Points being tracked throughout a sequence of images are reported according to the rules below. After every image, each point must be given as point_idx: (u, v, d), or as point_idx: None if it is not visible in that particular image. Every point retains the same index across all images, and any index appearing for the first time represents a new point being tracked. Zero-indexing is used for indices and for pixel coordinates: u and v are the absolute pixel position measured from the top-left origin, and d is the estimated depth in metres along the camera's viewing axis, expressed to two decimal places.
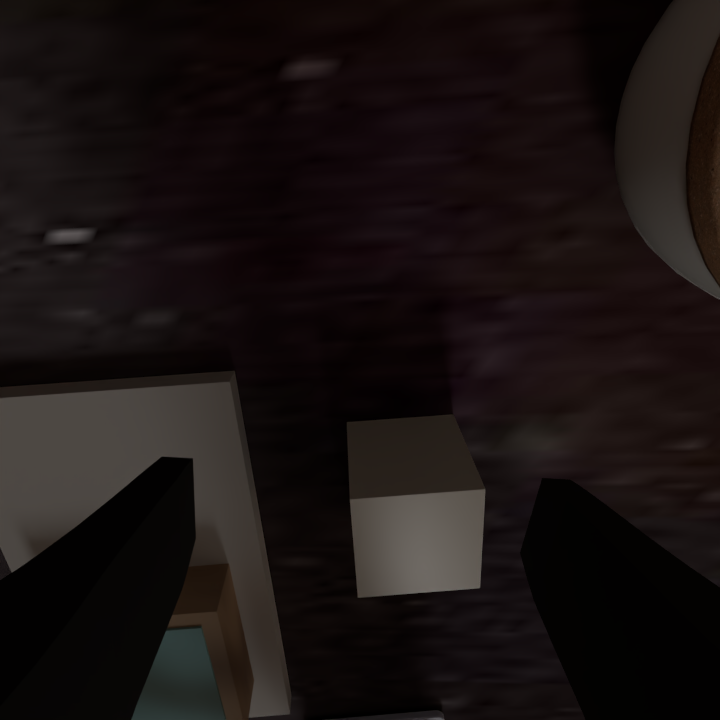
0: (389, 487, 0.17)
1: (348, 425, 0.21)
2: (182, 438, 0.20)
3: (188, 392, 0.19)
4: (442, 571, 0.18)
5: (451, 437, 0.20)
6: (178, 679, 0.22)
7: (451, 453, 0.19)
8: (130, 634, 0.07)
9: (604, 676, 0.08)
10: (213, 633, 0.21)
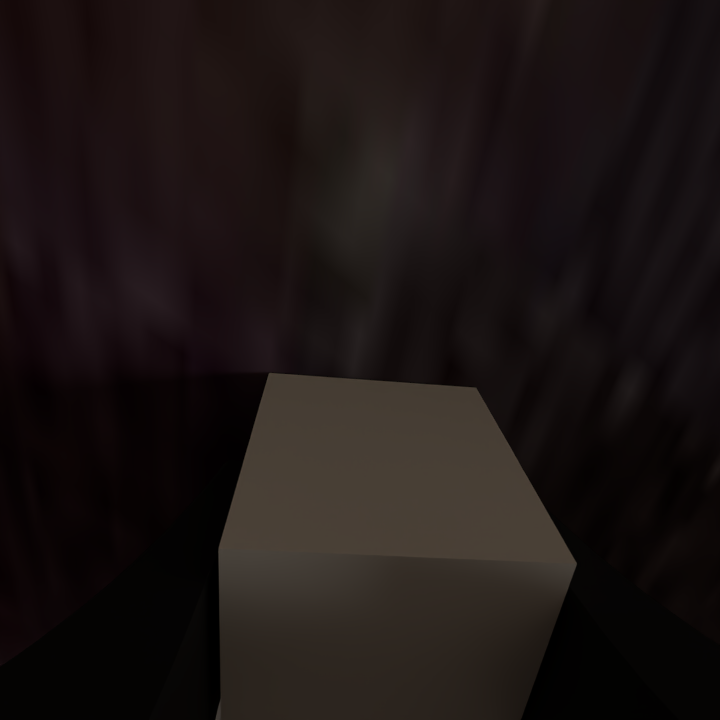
0: None
1: None
2: None
3: None
4: (482, 636, 0.07)
5: None
6: None
7: None
8: (218, 637, 0.07)
9: None
10: None
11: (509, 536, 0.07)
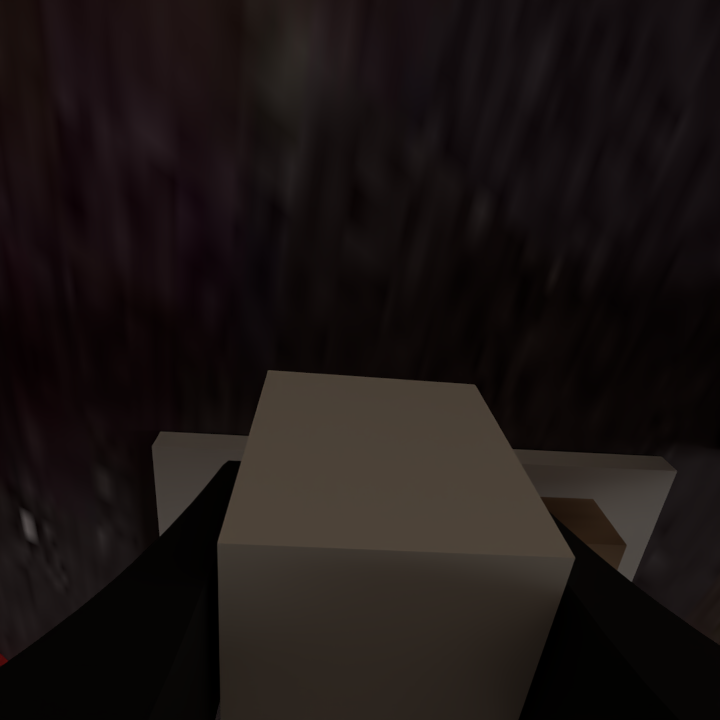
0: None
1: None
2: None
3: (163, 483, 0.19)
4: (481, 631, 0.07)
5: None
6: None
7: None
8: (217, 636, 0.07)
9: None
10: None
11: (508, 531, 0.07)
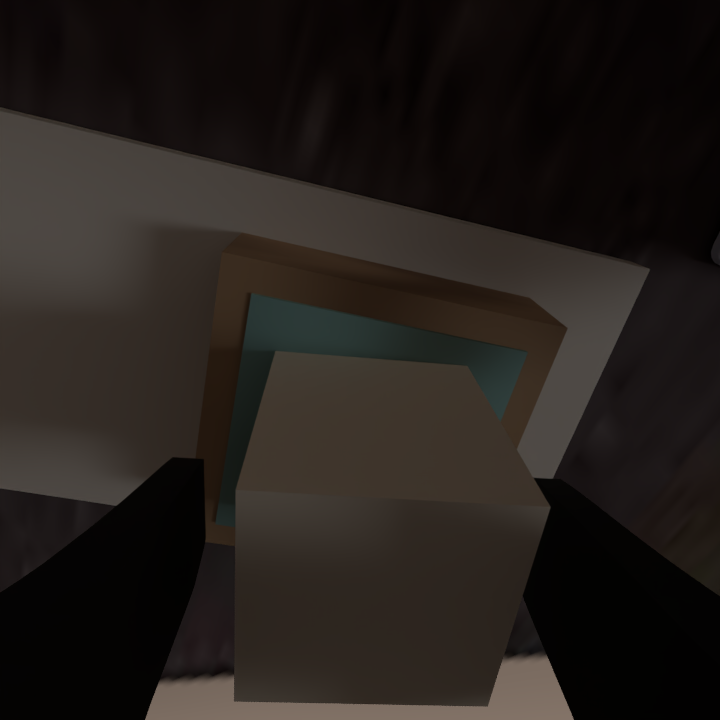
0: None
1: None
2: None
3: None
4: (468, 575, 0.08)
5: None
6: None
7: None
8: (144, 634, 0.07)
9: (593, 676, 0.08)
10: (278, 280, 0.11)
11: (491, 485, 0.08)
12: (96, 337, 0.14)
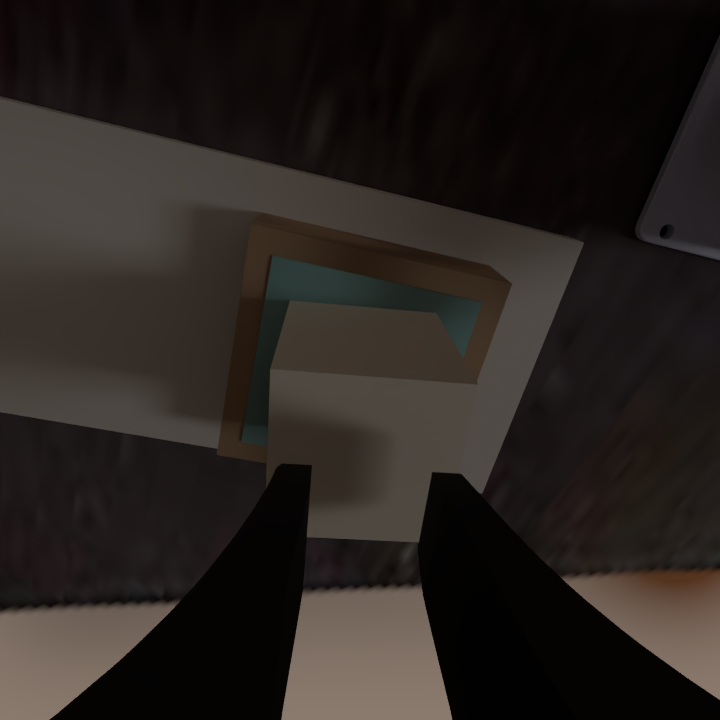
0: None
1: None
2: (50, 187, 0.16)
3: None
4: (425, 435, 0.11)
5: None
6: None
7: None
8: (287, 638, 0.08)
9: (464, 673, 0.08)
10: (292, 245, 0.15)
11: (440, 373, 0.11)
12: (146, 296, 0.18)
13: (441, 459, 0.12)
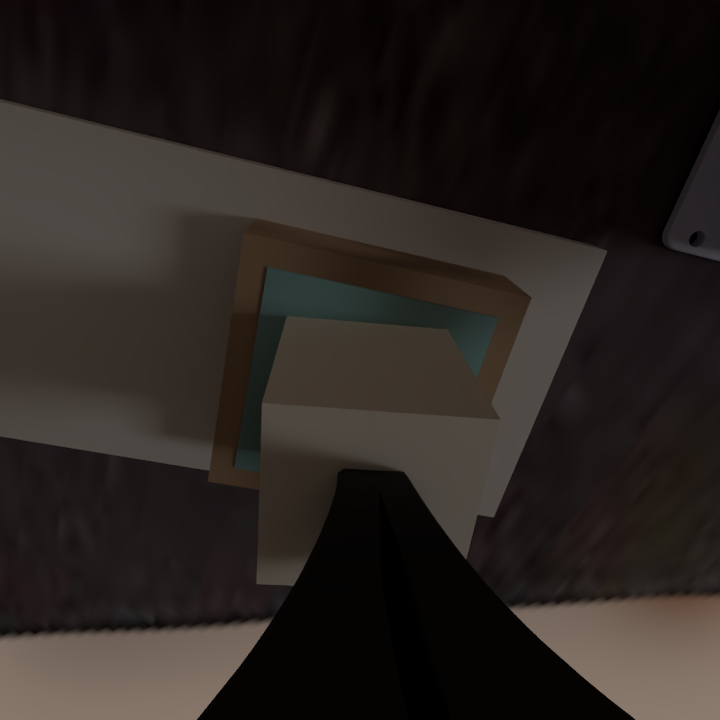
0: None
1: None
2: (24, 190, 0.15)
3: None
4: (439, 476, 0.10)
5: None
6: None
7: None
8: None
9: None
10: (290, 256, 0.13)
11: (457, 405, 0.10)
12: (131, 309, 0.16)
13: (457, 502, 0.10)
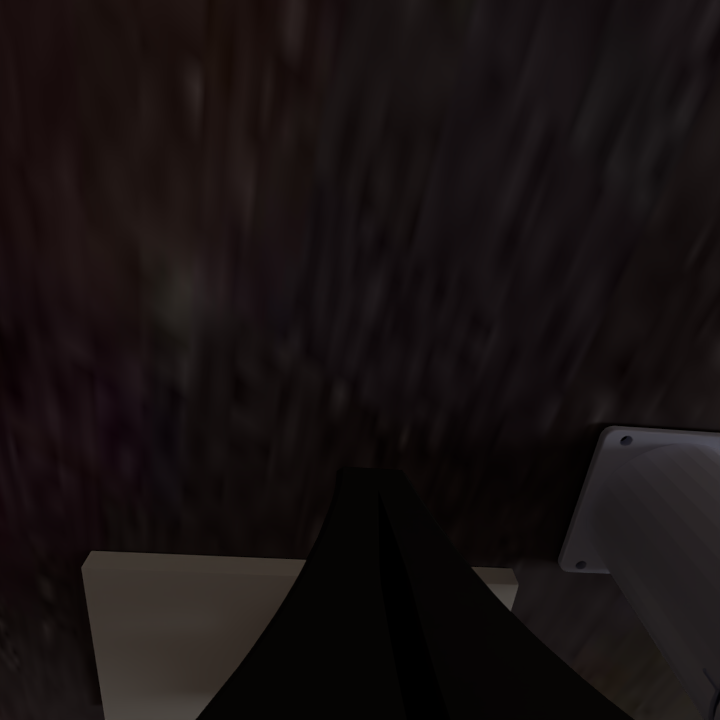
0: None
1: None
2: (138, 606, 0.23)
3: (92, 594, 0.23)
4: None
5: None
6: None
7: None
8: None
9: None
10: None
11: None
12: (209, 652, 0.25)
13: None
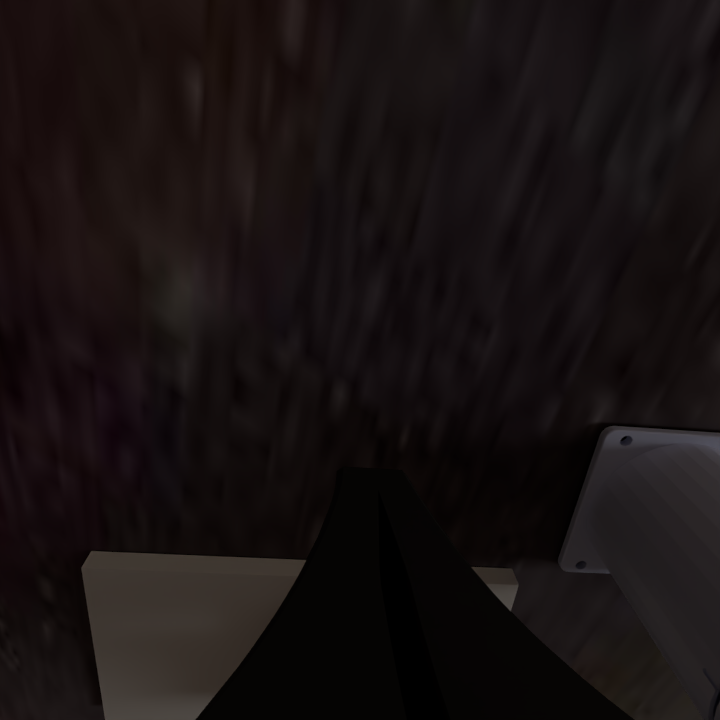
0: None
1: None
2: (138, 606, 0.23)
3: (92, 594, 0.23)
4: None
5: None
6: None
7: None
8: None
9: None
10: None
11: None
12: (209, 652, 0.25)
13: None
